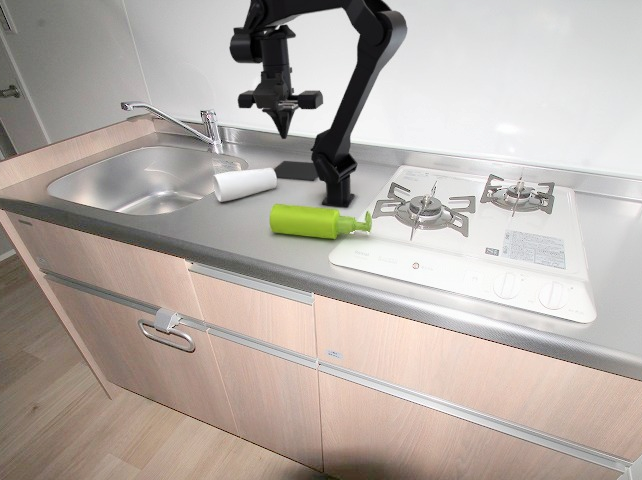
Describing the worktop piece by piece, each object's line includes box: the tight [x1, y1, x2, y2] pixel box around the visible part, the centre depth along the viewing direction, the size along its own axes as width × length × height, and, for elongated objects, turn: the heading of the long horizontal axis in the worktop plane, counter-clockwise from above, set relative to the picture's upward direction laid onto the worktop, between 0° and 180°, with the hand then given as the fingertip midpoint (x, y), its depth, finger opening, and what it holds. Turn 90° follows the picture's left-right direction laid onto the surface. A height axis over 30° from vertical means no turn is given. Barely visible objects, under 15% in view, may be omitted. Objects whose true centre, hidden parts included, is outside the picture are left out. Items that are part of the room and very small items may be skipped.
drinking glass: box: [211, 167, 278, 203], centre depth 91 cm, size 7×7×15 cm
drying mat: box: [273, 160, 319, 182], centre depth 104 cm, size 12×14×1 cm
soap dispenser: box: [269, 203, 373, 240], centre depth 72 cm, size 6×7×20 cm
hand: (284, 138), depth 86 cm, fingers closed
